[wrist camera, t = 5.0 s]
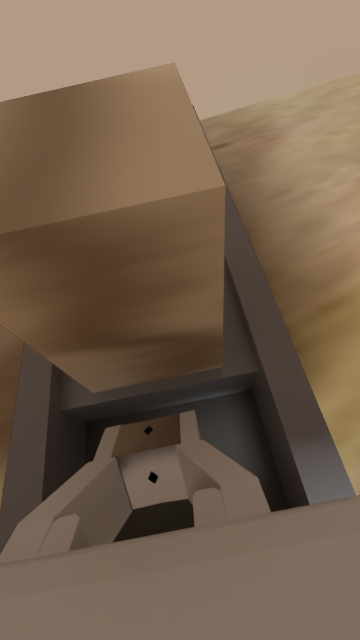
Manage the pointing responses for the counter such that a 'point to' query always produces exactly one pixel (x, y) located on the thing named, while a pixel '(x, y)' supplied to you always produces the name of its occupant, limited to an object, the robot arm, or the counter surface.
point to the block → (112, 230)
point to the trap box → (181, 396)
